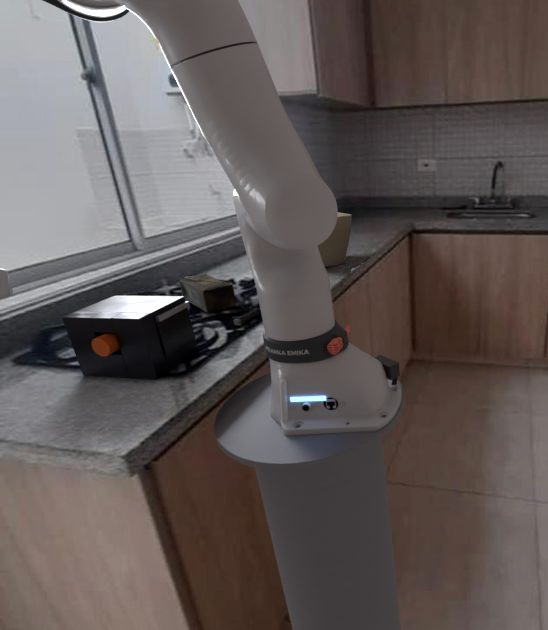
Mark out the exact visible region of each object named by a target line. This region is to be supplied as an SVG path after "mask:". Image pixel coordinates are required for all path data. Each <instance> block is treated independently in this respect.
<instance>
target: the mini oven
mask: <svg viewBox="0 0 548 630" xmlns="http://www.w3.org/2000/svg"><path fill="white" fill-rule="evenodd" d="M189 307H191V303H190V302H189V301H187V300H185V297H184V296H183V295H181V296H180V295H113V296H110V297H108V298H105V299H103V300H100V301H98V302H96V303H93V304H91V305H88V306H85V307H83V308H80V309H78V310H76V311H74V312H71V313H68V314H67V315H64V316H62V317H61V319H62V322H63V326H64V328H65V330H66V333H67V336H68V339H69V341H70V343H71V344H70V345H71V346H72V349H73V352H74V355H75V357H76V360H77V363H78V365H79V368H80V370H81V373H82V376H84V377H97V378H98V377H100V378H101V377H102V378H118V379H119V378H121V379H138V380H139V379H141V380H158V379H160V378H161V377H162V376H165V375H166V374H167V373H168V372H170V371H171V370H173V369H174V368H176V367H177V366H179V365H180V364H182V363H183V362H185V361H186V360H187V359H188V358H190V357H192V356H193V355H194V354H196V353H197V352H199V348H198V343H197V340H196V336H195V331H194V327H193V323H192V320H191V316H190V311H189V309H188V308H189ZM105 333H115V335H116V338H117V341H118V344H119V347H120V349H119V350H117V351H115V352H113V353H112V354H110V355H108V356H100V355H98V354H97V353H96V352H95V351H94V350H93V348H92V341H93V340H94V339H95V338H97V337H99V336H101V335H103V334H105Z"/></svg>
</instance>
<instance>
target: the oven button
mask: <svg viewBox="0 0 548 630" xmlns="http://www.w3.org/2000/svg"><path fill="white" fill-rule="evenodd" d="M92 348H93V350H94V351H95V352H96V353H97V354H98V355H100V356H108V355H110V354H112V353H113V352H115V351H117V350H119V349H120V347H119V344H118V341H117V338H116V335H115V333H105V334H103V335H101V336H99V337H97V338H95V339H94V340H93V341H92Z"/></svg>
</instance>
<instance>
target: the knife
mask: <svg viewBox="0 0 548 630" xmlns="http://www.w3.org/2000/svg"><path fill="white" fill-rule="evenodd" d="M258 316H262V314H261V309H260V307H259V308H258V307H254V308H251V309H248V312H246V313H245V314H242V315H240V316H237V317H236V318H233V320H232V321H233V322H232V323H233V324H234V326H238V327H239V326H241V325H244V324H245V323H246V322H248V321H249V320H252V319H253V318H255V317H258Z"/></svg>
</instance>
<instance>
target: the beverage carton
mask: <svg viewBox="0 0 548 630" xmlns="http://www.w3.org/2000/svg"><path fill="white" fill-rule="evenodd" d="M178 283H179V286H180V290H181V294H182V296H184V297H185V301H189V304H192V305H193V306H195V307H197V308H199V309H200V310H202V311H204V312H205V313H207V314H210V313H214V312H218V311H221V310H226V309H229V308H233V307H236V306H237V300H236V294H235V289H234V285H233V284H231V283H228V282H226V281H225V280H224V281H223V280H221V279H219V278H216V277H214V276H211V275H209V274H207V273H204V274H199V275H194V276H191V275H187V276H184V278H183V277H182V278H180V279H179V281H178Z"/></svg>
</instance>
